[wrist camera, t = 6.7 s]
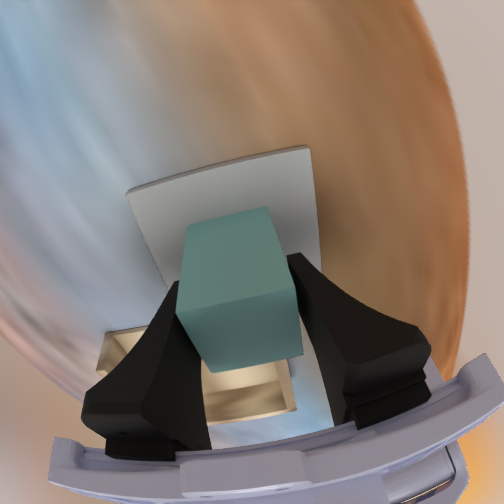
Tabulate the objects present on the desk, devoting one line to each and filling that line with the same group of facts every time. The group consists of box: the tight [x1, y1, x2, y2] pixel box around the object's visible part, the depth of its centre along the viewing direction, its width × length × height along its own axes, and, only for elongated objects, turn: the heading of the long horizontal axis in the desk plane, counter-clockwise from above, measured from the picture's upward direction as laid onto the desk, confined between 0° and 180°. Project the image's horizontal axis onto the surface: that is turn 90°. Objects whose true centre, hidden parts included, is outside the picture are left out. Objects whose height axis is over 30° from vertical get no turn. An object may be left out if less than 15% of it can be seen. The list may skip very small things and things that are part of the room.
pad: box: [126, 145, 322, 290], centre depth 15 cm, size 9×9×1 cm
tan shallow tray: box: [96, 326, 297, 426], centre depth 20 cm, size 13×11×4 cm
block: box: [176, 206, 304, 373], centre depth 13 cm, size 4×4×6 cm
